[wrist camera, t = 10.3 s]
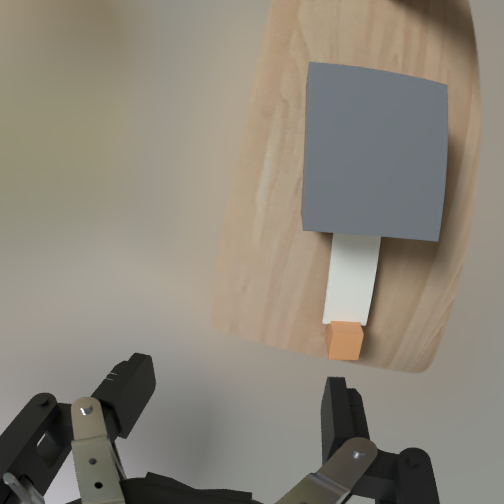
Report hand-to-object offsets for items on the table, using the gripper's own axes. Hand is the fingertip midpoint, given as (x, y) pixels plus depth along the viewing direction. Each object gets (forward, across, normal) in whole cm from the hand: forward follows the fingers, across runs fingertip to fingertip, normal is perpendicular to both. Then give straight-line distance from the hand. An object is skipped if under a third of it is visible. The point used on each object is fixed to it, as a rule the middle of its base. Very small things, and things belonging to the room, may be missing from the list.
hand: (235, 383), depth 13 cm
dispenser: (+28, -10, -11) cm, 32 cm away
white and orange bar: (+28, -10, +5) cm, 30 cm away
